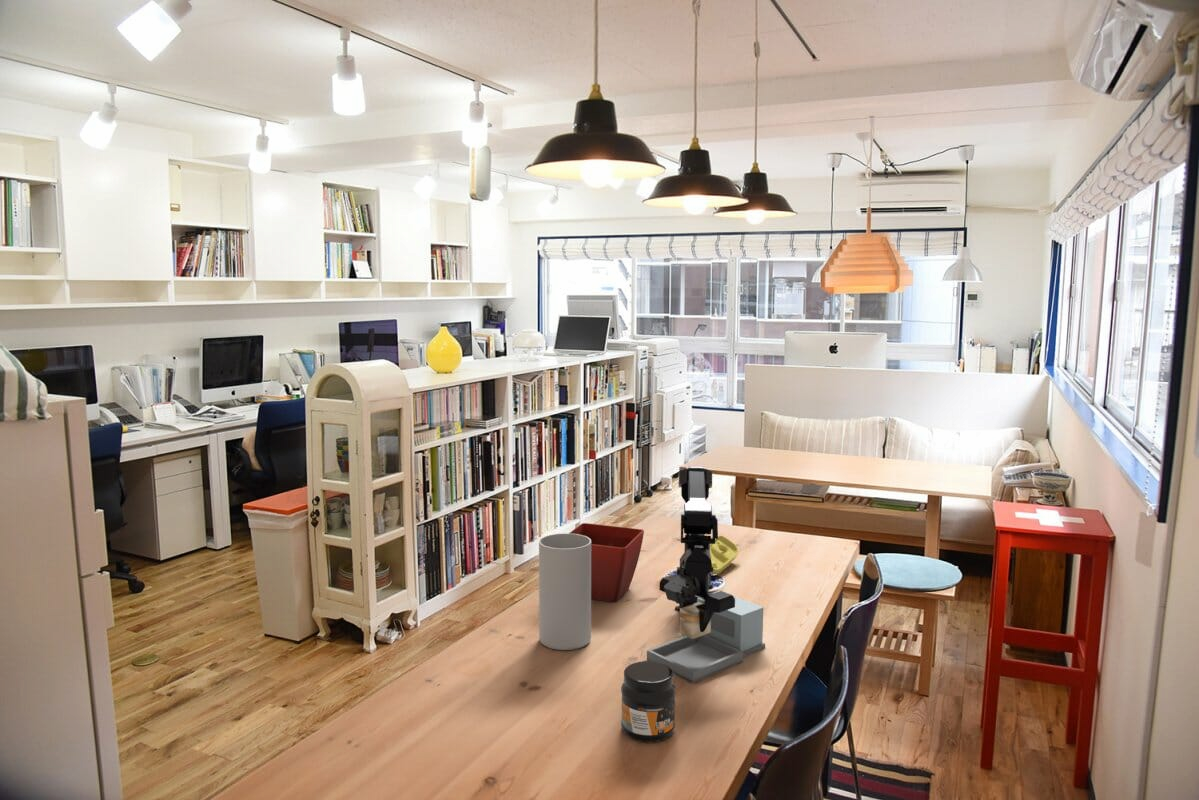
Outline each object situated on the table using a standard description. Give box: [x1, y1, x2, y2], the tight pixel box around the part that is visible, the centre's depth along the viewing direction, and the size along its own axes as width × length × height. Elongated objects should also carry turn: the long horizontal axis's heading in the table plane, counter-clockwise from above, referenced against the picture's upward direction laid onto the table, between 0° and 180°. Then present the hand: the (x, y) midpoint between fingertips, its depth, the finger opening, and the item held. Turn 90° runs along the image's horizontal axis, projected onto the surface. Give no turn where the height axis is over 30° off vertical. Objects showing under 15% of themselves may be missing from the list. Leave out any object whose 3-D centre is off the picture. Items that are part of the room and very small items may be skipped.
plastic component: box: [710, 534, 740, 575], centre depth 258 cm, size 20×7×10 cm
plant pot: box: [569, 522, 645, 603], centre depth 235 cm, size 19×19×17 cm
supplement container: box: [620, 660, 677, 743], centre depth 162 cm, size 10×10×12 cm
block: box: [679, 602, 711, 639], centre depth 191 cm, size 4×6×6 cm
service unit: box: [697, 590, 766, 658], centre depth 202 cm, size 15×9×10 cm, turn 40°
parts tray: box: [646, 635, 744, 684], centre depth 192 cm, size 15×17×2 cm
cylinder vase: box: [538, 532, 592, 651], centre depth 202 cm, size 12×12×25 cm
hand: (695, 628), depth 191 cm, fingers closed on block, 4 cm apart
